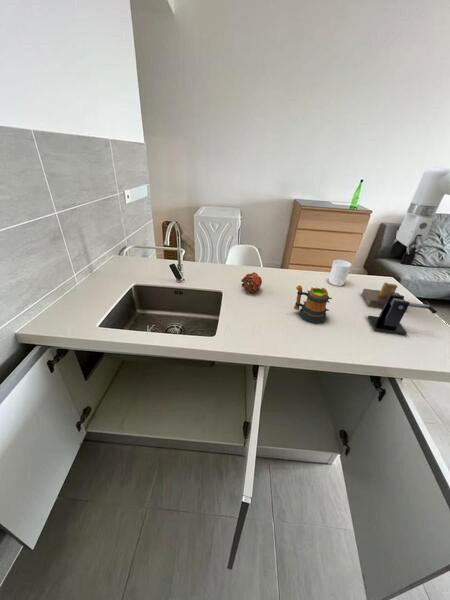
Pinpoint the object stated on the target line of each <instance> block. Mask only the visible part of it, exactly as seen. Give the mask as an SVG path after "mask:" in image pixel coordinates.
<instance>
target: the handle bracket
mask: <svg viewBox="0 0 450 600" xmlns="http://www.w3.org/2000/svg"><path fill="white" fill-rule="evenodd" d="M393 298H399V299H402V300H403V299H404V300H405V296H404V295H401V294H400V295H394V294H389V296H388V298H387V300H386V303H385V305H384V307H383V308H381V311H380V313H379V315H378V316H376V315H368V316H367V320H368V322H369V324H370V326H371V327H372V329H373V331H374V332H378V333H385V334H392V335H399V336H406V335H407V331H406V330H405V328H404V326H402V324H401V321H402V319H403V317H404V315H405V314H406V312H407V310H408V308H409V304H410V303H411V302H410V301H406V300H405V301H400V300H394V301H393V303H392V305H391V304H390V303H391V301H392V299H393Z"/></svg>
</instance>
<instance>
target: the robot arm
mask: <svg viewBox="0 0 450 600" xmlns="http://www.w3.org/2000/svg"><path fill="white" fill-rule="evenodd" d="M445 195H447V196H450V168H448V167H437V166H436V167H435V166H433V167H431V166H430V167H428V168H426V169H425V170H424V172H423V173H422V176H421V178H420V180H419V183H418V185H417V187H416V190H415V192H414V194H413V196H412V199H411V201H410V204H409V206H408V207H407V210H406V215H405V216H404V218H403V220H402V222H401V223H400V226H399V229H397V230H396V232H395V235H394V240H393V242H392V246H391V247H390V250H389V253H388V254H389V255H390V256H391V255H392V256H399V255H400V252H401V250H402V248H403V246H405V247H406V252H404V253H403V255H402V258H401V259H400V262H399V264H400V265H404V266H411V264H412V263H413V261H414V259H415V257H416V256H417V255H418V253H420V251H421V249H422V248H424V246H425V241H426V239H427V237H428V235H429V232H430V230H431V227H432V225H433V220H434V217H435V215H436V213H437V211H438V209H439V207H440V205H441V202H442V201H443V199H444V196H445Z"/></svg>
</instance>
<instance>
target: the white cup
mask: <svg viewBox="0 0 450 600" xmlns="http://www.w3.org/2000/svg"><path fill="white" fill-rule="evenodd" d="M352 266H353V265H352V263H351V262H349V261H347V260H344V259H335V260H332V264H331V269H330V272H329V279H328V283H329V284H331V285H334V286H336V287H337V286H338V287H342V286H344V284H345V282H346V280H347V278H348V275H349V274H350V272H351V268H352Z"/></svg>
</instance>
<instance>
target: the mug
mask: <svg viewBox="0 0 450 600" xmlns="http://www.w3.org/2000/svg"><path fill="white" fill-rule="evenodd" d="M295 288H296V290H297V292H296V293H297V296H296V302H295V304H294V305H293V309H294V310H296V311H298V310H299V309H300V310H299V313H298V314H299V317H300V318H301V319H302V321H305V322H307V323H310V324H316V325H317V324H318V325H319V324H323V323H325V322H326V320H327V312H329V311H330V309H327V304H328V303H329V304H330V301H329V300H332V299H333V297H330V296H329V293H328V290H327V288H324V287H310V290H306V291H303V287H302V285H296V287H295ZM302 296H306V299H305V300H303V301H302V302H303V303H301V299H302ZM300 307H301V308H300Z"/></svg>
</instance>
